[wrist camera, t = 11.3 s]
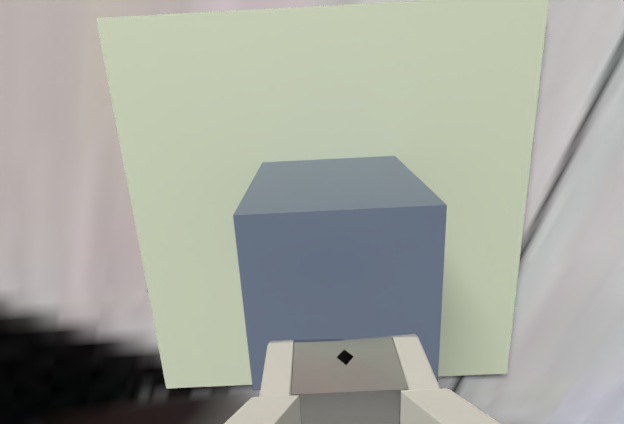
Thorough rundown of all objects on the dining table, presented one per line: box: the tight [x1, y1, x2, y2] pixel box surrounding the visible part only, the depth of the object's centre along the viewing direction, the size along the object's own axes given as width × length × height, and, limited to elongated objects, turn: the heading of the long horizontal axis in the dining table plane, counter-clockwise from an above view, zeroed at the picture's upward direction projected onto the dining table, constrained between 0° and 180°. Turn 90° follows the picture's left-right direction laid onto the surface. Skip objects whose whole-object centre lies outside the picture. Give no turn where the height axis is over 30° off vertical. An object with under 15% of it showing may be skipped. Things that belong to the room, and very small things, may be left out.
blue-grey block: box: [233, 156, 447, 390], centre depth 14 cm, size 5×5×7 cm
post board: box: [96, 0, 549, 388], centre depth 15 cm, size 16×16×6 cm
